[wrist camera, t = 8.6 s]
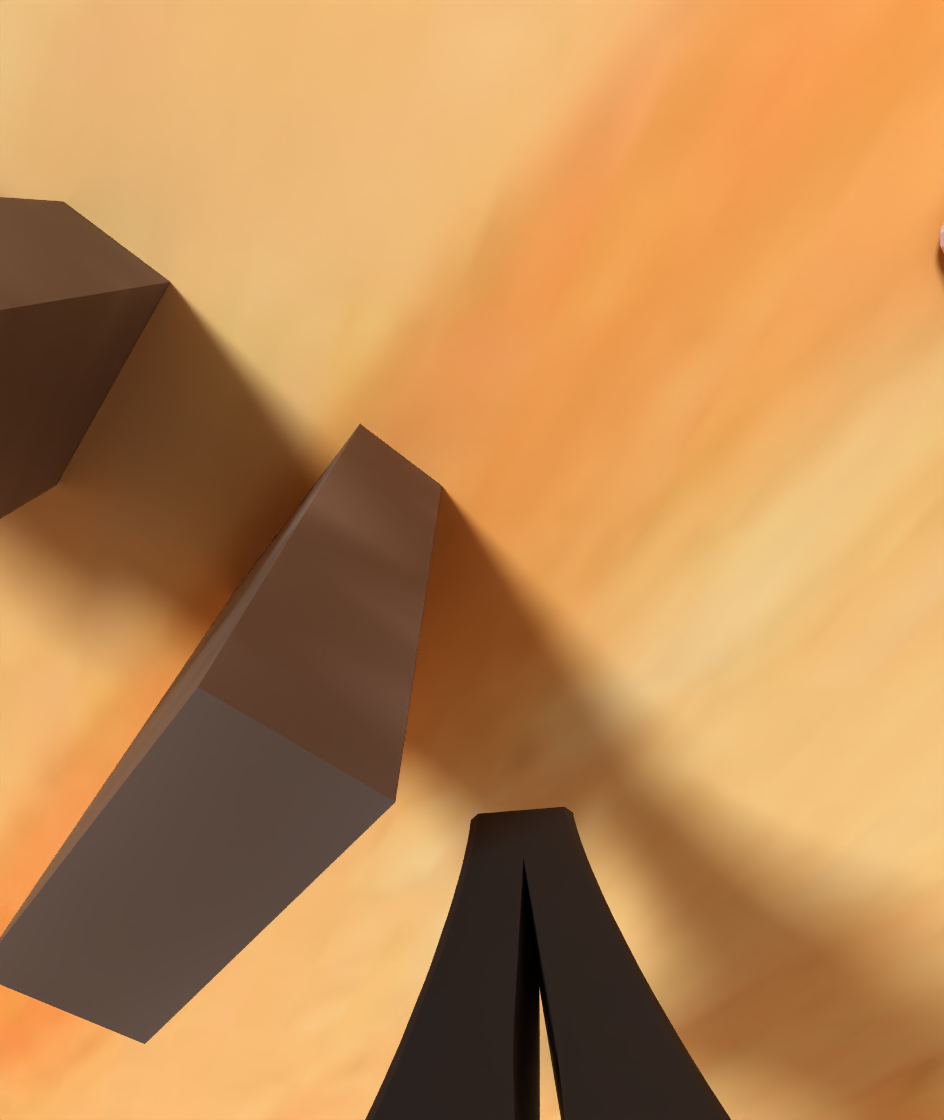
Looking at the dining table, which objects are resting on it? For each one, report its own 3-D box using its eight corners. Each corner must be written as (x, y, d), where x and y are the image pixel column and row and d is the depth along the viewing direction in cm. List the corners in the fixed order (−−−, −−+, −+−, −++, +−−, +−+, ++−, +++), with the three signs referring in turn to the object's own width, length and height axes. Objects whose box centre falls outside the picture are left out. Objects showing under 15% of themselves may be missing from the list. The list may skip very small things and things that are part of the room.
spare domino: (441, 485, 12) (395, 802, 5) (309, 643, 14) (144, 1044, 7) (359, 423, 12) (197, 687, 5) (232, 595, 13) (-25, 973, 6)
